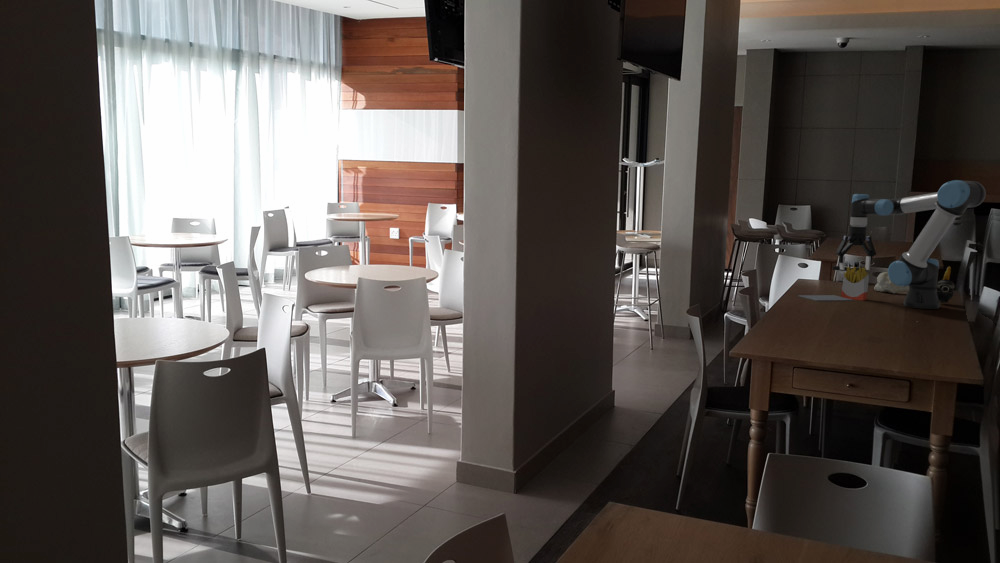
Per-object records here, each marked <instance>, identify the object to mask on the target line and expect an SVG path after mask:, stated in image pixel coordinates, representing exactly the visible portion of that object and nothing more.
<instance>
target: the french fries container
mask: <svg viewBox="0 0 1000 563" xmlns="http://www.w3.org/2000/svg"><path fill="white" fill-rule="evenodd" d="M869 280H870V274H869V272H867V270H866V268H865V267H862V271H861V267H860V268H859V270H857V272H856V267H853V269H851V270H850V267H847V272H845V273H844V279H843V281H842V287H841V293H840V294H841V295H840V297H843V298H848V299H852V300H855V301H856V300H857V301H867V300H868V292H869Z"/></svg>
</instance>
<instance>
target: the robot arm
mask: <svg viewBox="0 0 1000 563" xmlns="http://www.w3.org/2000/svg"><path fill="white" fill-rule="evenodd" d="M986 194H987V192H986V189H985V187H984V185H983V184H981V183H980V182H978V181H976V180H961V179H960V180H958V179H954V180H951V181H950V180H949V181H947V182H945V183H943V184H942V185H941V186H940V188H939V189H938V191H937V192H936V191H935V192H930V193H925V194H924V193H923V194H918V195H913V196H912V195H911V196H906V197H901V198H899V197H898V198H892V199H889V198H888V199H887V198H870V194H867V193H865V194H864V193H863V194H860V193H854V194H852V199H851V202H850V203H851V205H850V206H851V207H850V209H851V210H850V222H849V225H850V226H849V232H848V233H849V235H843V237H842V240H841V243H840V244H839V246H838V247H837V250H836V251H835V255H837V256H839V257H838V263H840V269H841V270H844V267H845V266H846V265H845V263H846V256H845V255H846V254H847V253H848V251H849V250H850V249H851V248H852V247H853V246H861V248H862V249H863V250H864V252H865V254H866V255H867V256H865V264H864V265H865V266H864V268H866V271H871V264H872V262H873V258H874V256H876V255H877V251H876V250H875V246H874V244H873V241H872V236H870V235H866V234H867V230H868V229H867V225H868V216H869V215H872V216H873V215H874V216H881V217H883V216H901V215H905V214H910V213H918V212H925V211H930V210H934V212H933V213H932V215H931V216H930V218H929V219H928V221H927V222H926V224H925V225H924V227H923V228H922V230H921V231H920V233H919V234H918V236H917V237H916V239H915V241H914V242H913V243H912V245H911V247H910V248H909V249H908V251H905V252H903V253H902V254H901V256H900V257H899V258H898V260H894V261H893V262H891V263H890V264H889V266H888V268H887V272H888V275H889V279H890V280H891V282H892V283H893V284H895V285H897V286H904V287H905V286H909V290H908V292H906V296H905V298H904V300H903V306H904V307H908V308H914V309H922V310H923V309H924V310H937V309H940V306H941V304H940V303H941V302H939V299H938V295H937V283H938V282H939V281H938V280H939V279H938V278H939V270H940V263H939V262H940V261H939V260H938V259H936V258H930V256H931V255H932V253H933V252H934V251H935V249H936V247H937V246H938V245H939V243H940V242H941V241H942V239H943V237H944V236H945V234H946V233H947V232H948V229H950V227H951V225H952V224H953V222H954V221H955V220H956V218H959V217H962V216H963V214H964V213H965V212H966V210H967V209H968V208H969V209H970V208H976V207H977V206H980V205H981V204H982V203H983V202H984V200H985V199H986V197H987V196H986ZM865 241H866V242H865Z"/></svg>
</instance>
